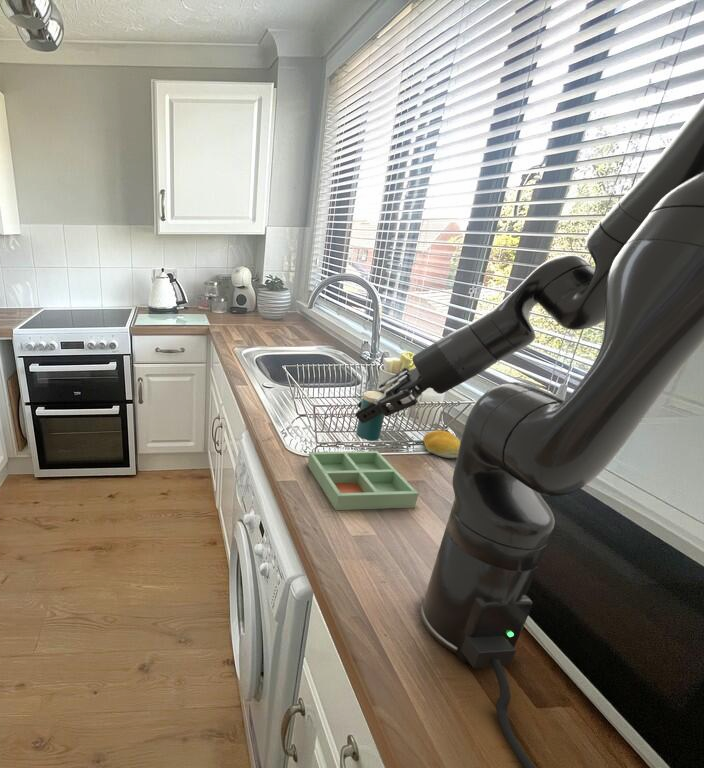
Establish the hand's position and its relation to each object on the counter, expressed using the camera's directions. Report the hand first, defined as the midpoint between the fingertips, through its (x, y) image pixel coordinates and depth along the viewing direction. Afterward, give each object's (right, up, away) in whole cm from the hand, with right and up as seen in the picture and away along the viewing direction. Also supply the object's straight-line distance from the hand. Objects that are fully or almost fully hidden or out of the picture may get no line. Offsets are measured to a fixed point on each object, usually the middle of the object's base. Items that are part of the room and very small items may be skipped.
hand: (360, 413), depth 75 cm
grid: (+3, -15, +9) cm, 18 cm away
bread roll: (+29, -11, +24) cm, 39 cm away
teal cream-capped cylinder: (+2, -4, +1) cm, 4 cm away
